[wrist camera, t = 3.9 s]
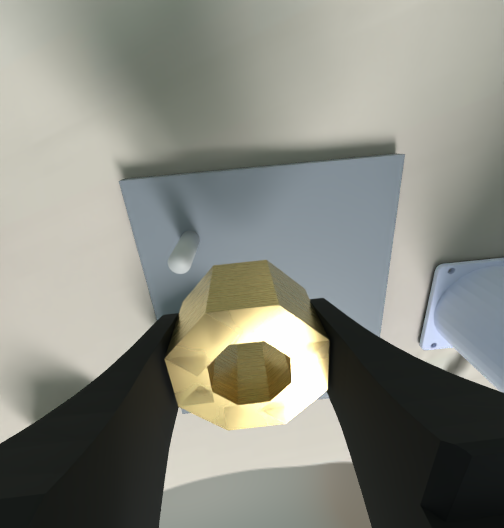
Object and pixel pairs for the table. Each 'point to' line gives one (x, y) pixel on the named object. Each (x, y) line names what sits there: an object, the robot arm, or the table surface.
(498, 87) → the table surface
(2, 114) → the table surface
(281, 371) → the yellow faceted ring
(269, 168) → the gear board
